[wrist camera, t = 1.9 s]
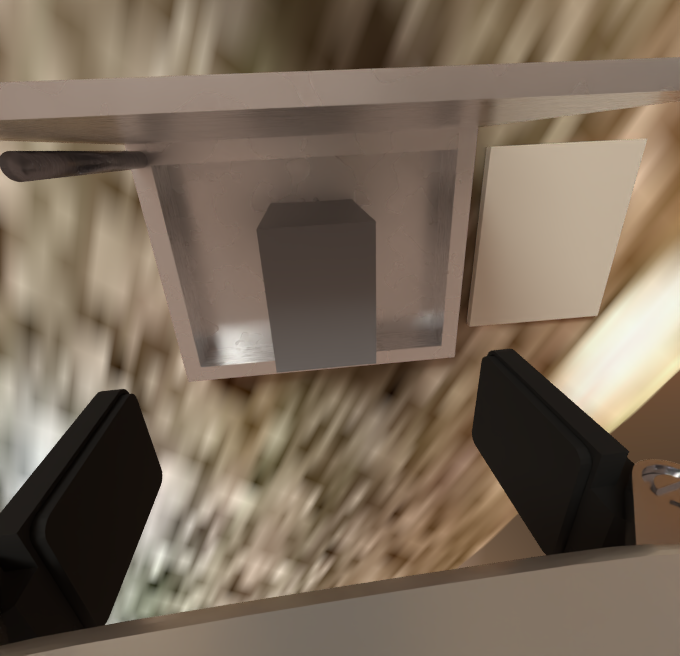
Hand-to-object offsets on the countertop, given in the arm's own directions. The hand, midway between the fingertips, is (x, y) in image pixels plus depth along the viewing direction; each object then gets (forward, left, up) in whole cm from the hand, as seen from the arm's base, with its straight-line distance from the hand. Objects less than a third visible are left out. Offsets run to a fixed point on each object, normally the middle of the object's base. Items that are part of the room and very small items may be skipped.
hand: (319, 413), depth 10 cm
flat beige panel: (-17, 0, -16) cm, 23 cm away
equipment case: (-1, 0, -16) cm, 16 cm away
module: (-1, 0, -16) cm, 16 cm away
